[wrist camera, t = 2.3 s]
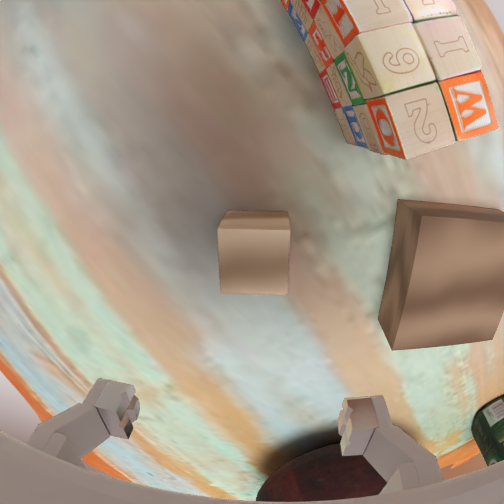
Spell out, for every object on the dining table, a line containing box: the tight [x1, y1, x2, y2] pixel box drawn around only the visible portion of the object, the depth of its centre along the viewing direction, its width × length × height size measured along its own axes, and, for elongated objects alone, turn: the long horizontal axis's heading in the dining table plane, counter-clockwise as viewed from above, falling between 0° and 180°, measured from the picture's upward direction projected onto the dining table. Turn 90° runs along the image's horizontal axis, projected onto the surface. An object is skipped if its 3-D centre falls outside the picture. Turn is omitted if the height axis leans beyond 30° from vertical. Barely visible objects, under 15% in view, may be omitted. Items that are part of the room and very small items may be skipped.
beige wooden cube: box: [217, 211, 291, 295], centre depth 25 cm, size 5×5×5 cm
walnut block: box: [378, 199, 504, 350], centre depth 25 cm, size 12×12×5 cm
